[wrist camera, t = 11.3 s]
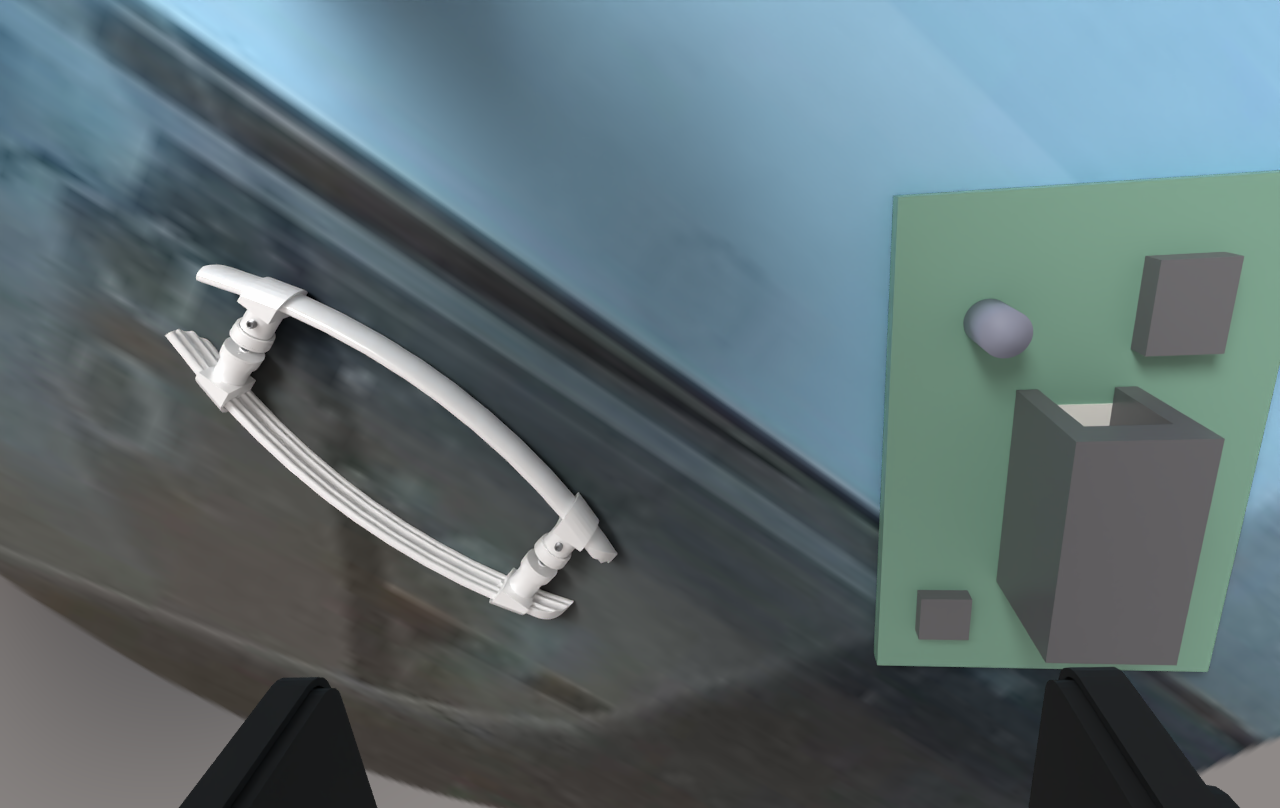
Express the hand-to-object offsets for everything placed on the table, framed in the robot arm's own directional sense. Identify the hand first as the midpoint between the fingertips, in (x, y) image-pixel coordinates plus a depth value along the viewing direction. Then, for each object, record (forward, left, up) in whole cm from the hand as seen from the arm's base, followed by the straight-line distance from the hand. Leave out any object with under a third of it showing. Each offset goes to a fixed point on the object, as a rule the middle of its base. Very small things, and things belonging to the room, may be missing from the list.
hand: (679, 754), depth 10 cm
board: (+7, +16, -26) cm, 31 cm away
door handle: (+6, -17, -27) cm, 32 cm away
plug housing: (+9, +16, -25) cm, 31 cm away
